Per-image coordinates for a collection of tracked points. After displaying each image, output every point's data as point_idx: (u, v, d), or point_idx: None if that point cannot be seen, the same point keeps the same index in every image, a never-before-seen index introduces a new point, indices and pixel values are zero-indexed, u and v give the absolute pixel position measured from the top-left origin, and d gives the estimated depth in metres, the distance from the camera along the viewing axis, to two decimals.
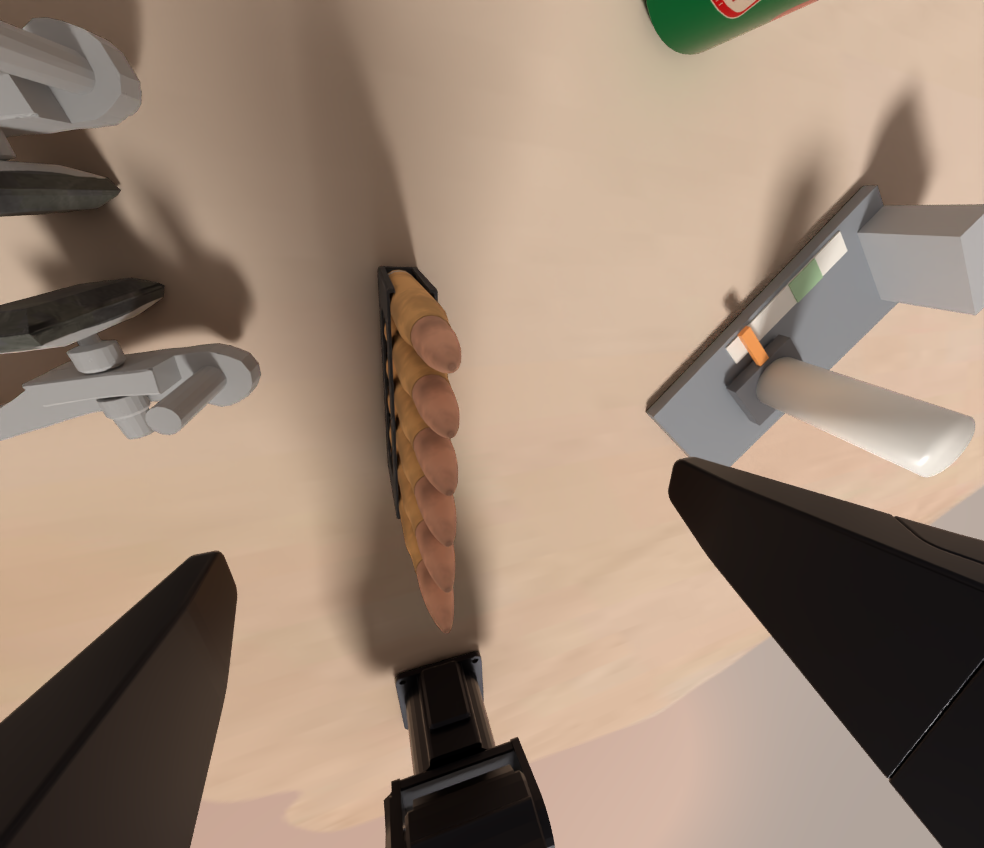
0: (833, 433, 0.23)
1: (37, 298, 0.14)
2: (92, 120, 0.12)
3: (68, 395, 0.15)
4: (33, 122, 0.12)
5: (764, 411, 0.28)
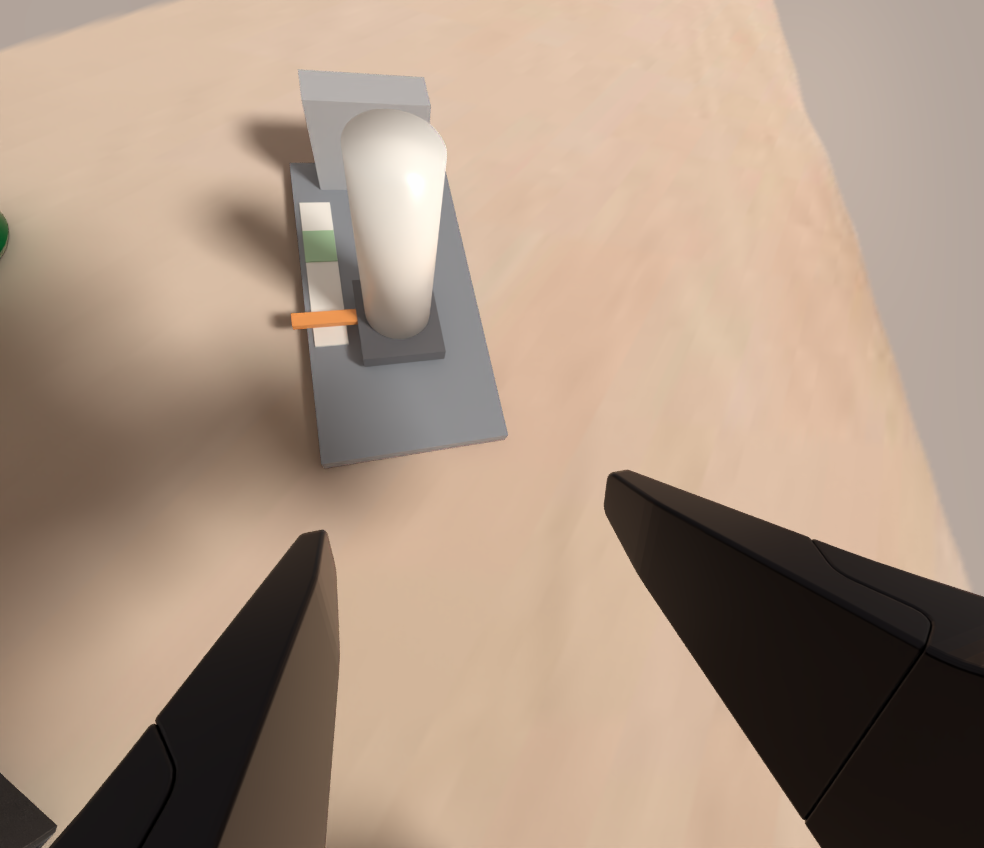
0: (401, 274, 0.16)
1: None
2: None
3: None
4: None
5: (428, 338, 0.21)
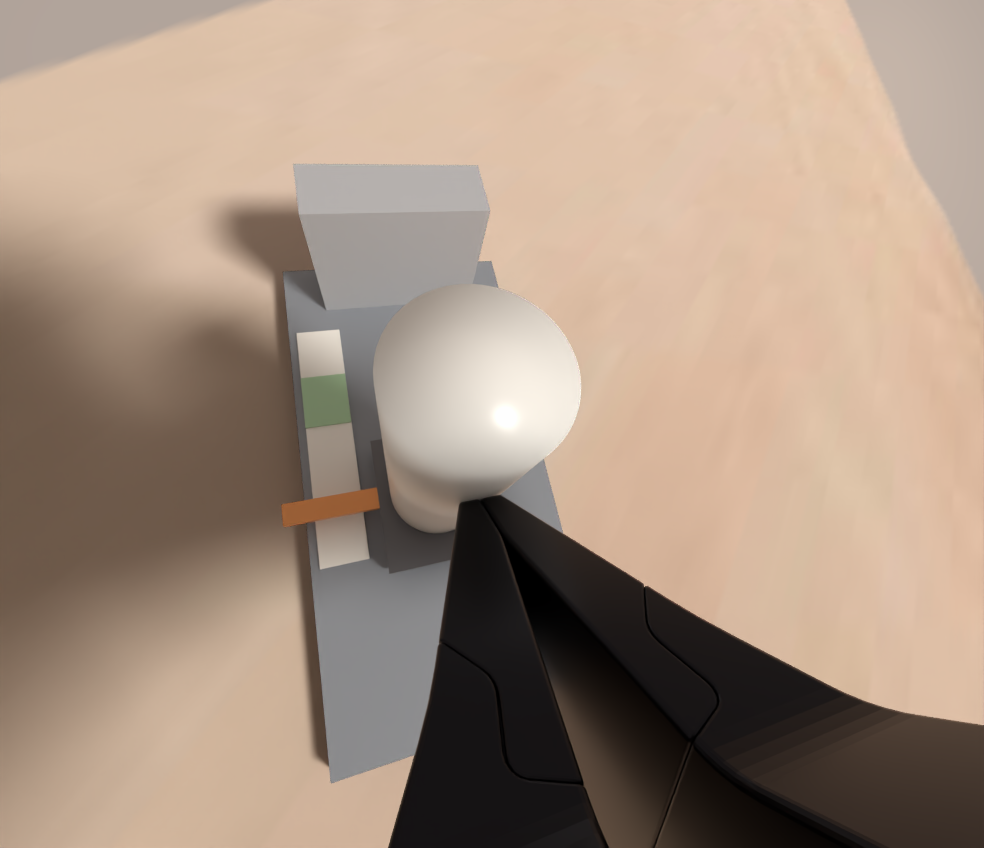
0: None
1: None
2: None
3: None
4: None
5: None
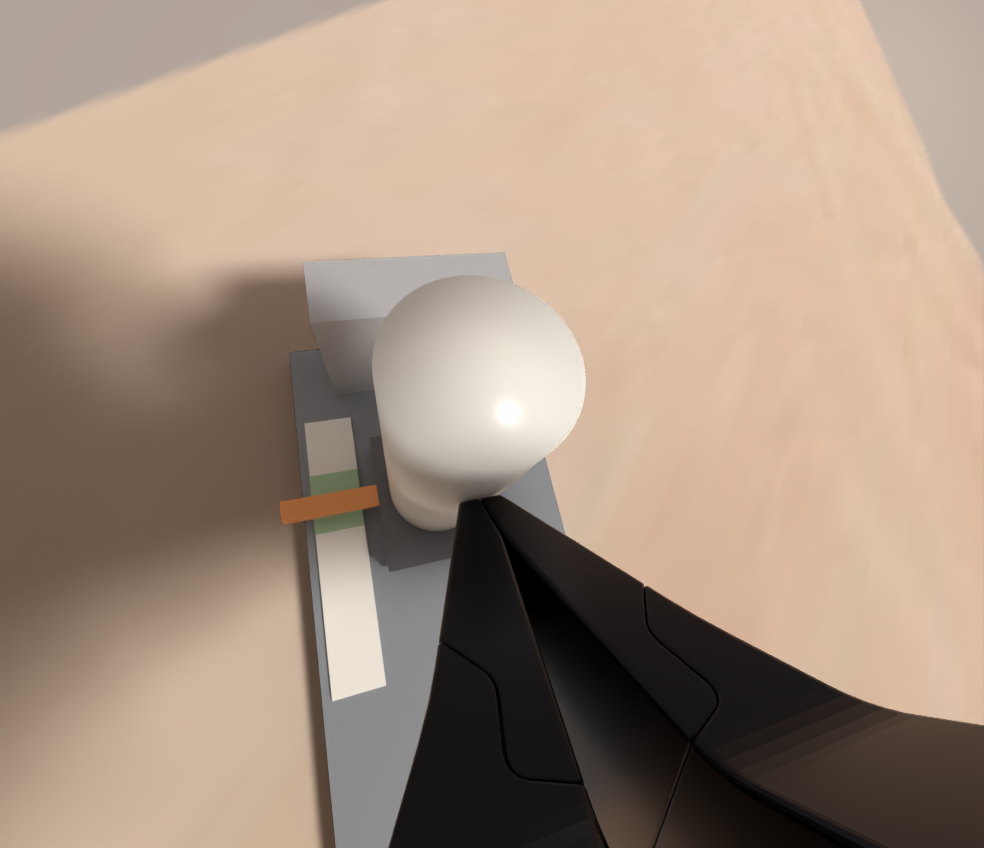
0: None
1: None
2: None
3: None
4: None
5: None
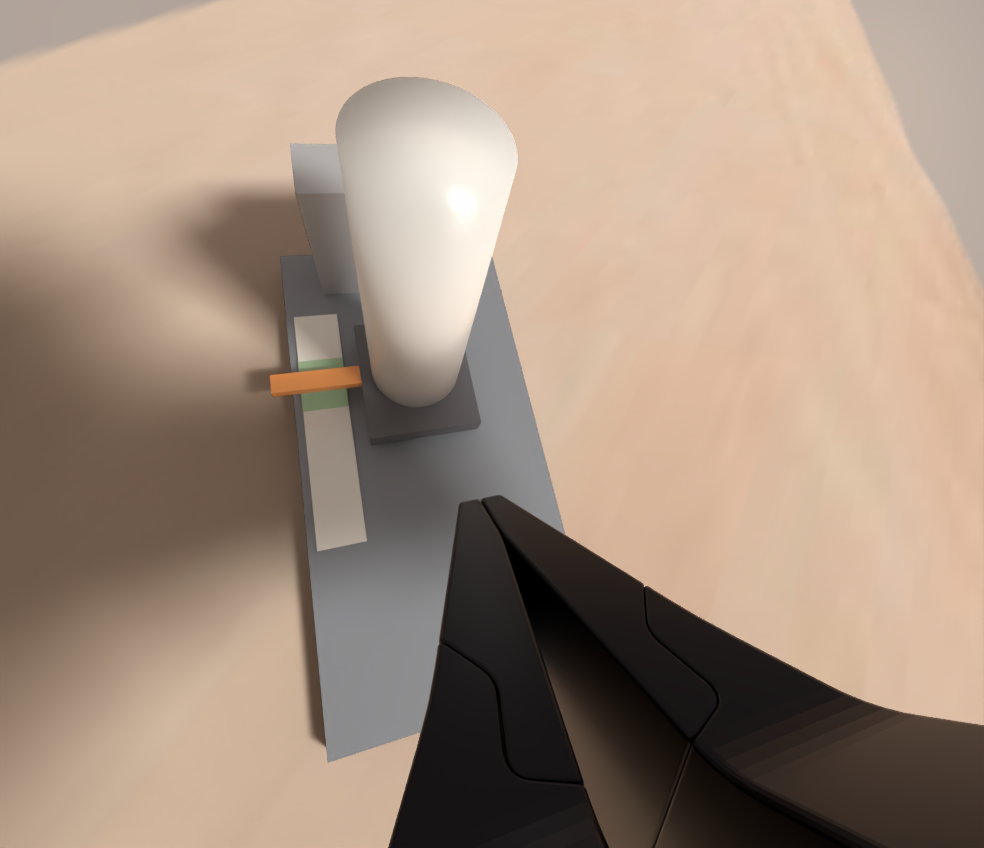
0: (430, 336, 0.11)
1: None
2: None
3: None
4: None
5: (458, 405, 0.16)
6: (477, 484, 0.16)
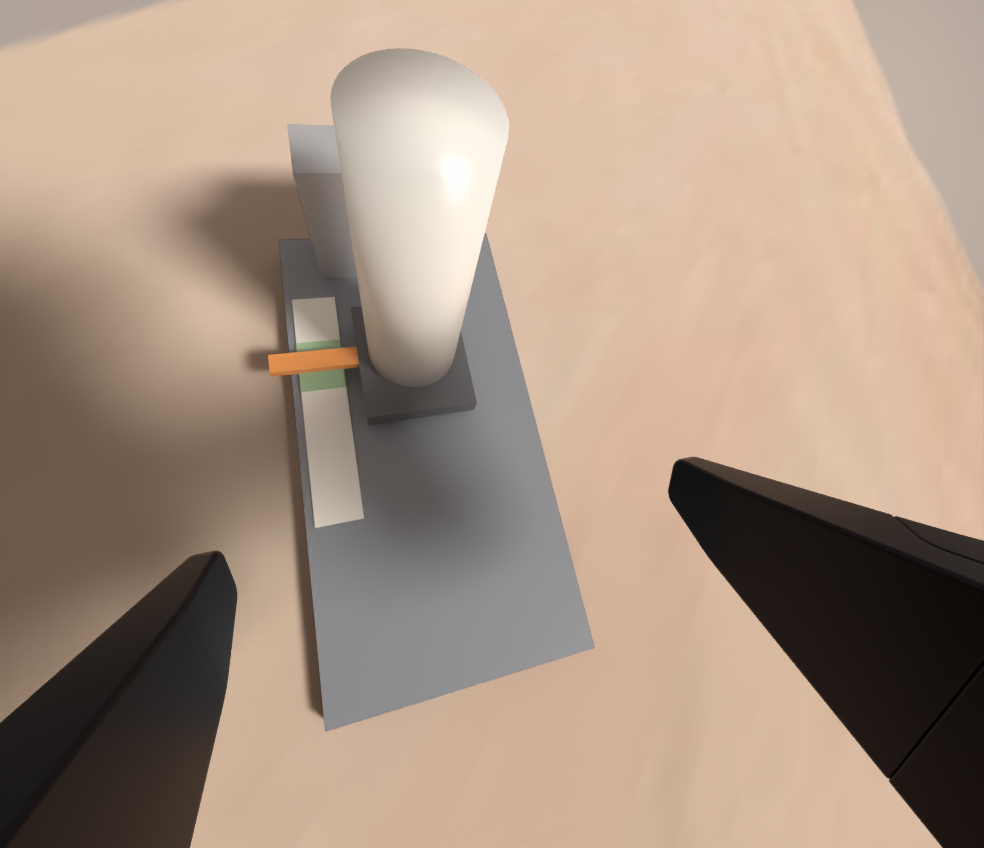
0: (425, 310, 0.11)
1: None
2: None
3: None
4: None
5: (454, 385, 0.16)
6: (473, 464, 0.16)
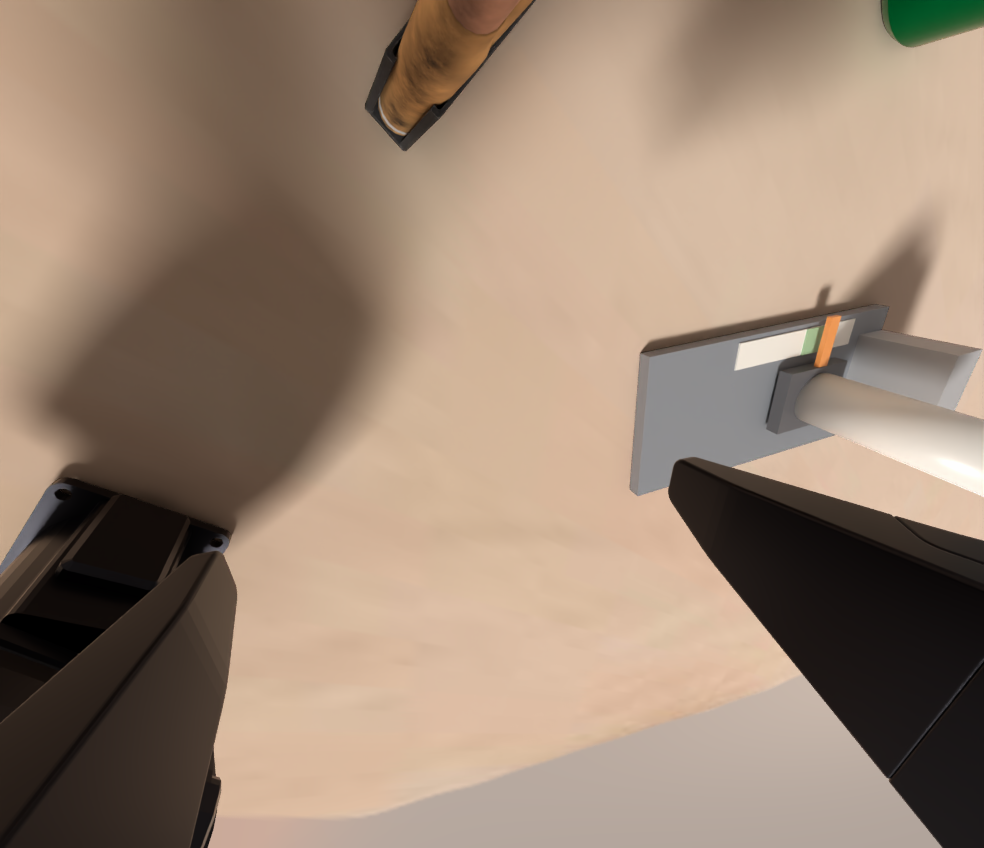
0: (886, 437, 0.22)
1: None
2: None
3: None
4: None
5: (789, 421, 0.27)
6: (737, 429, 0.27)
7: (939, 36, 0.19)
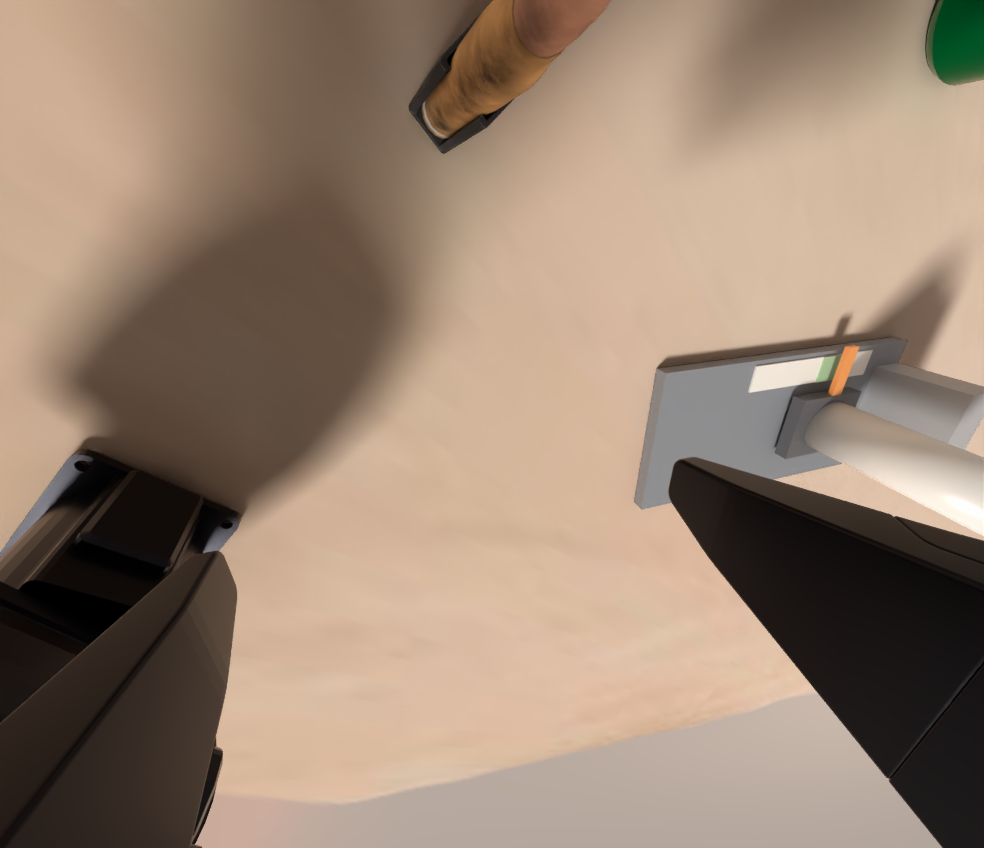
0: (895, 471, 0.22)
1: None
2: None
3: None
4: None
5: (798, 447, 0.27)
6: (746, 450, 0.27)
7: (981, 77, 0.19)
